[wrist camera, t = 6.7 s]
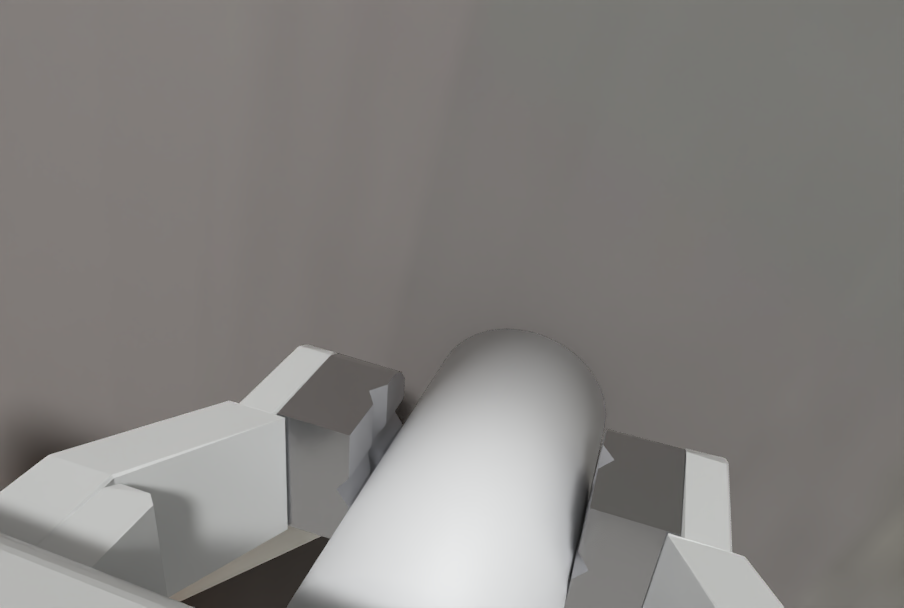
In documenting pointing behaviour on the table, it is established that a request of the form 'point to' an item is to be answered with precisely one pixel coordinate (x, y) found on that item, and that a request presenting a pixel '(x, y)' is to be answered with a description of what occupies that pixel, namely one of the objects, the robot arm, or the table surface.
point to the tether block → (465, 490)
